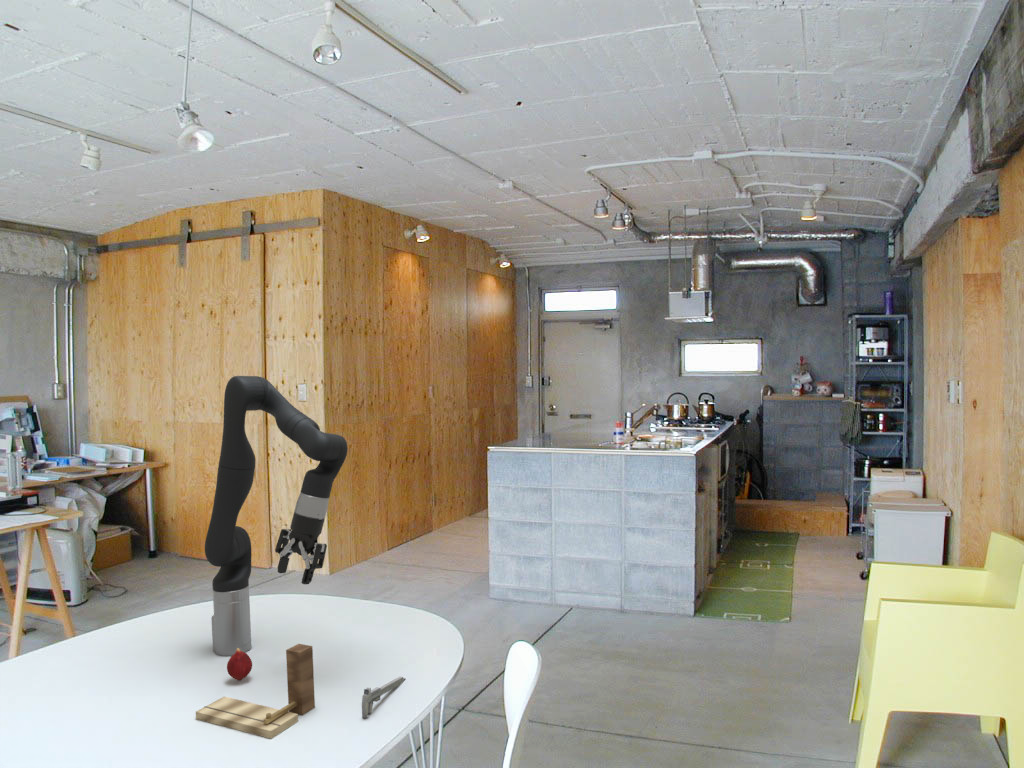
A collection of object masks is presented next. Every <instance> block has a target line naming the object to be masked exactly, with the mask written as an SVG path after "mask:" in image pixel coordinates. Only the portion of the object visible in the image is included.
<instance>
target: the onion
mask: <svg viewBox="0 0 1024 768" xmlns="http://www.w3.org/2000/svg"><path fill="white" fill-rule="evenodd" d="M252 669H253V661H252V659H251V657H250V655H249V654H248V653H246V652H242V651H241V650H240V649H239V648H237V650H236V653H235V654H233V655H231V656H230V658H229V659H228V661H227V663H226V671H227V674H228V675H229V676H230V677H231V678H232V679H234V680H236V681H238V682H241V681H243V680H244V679H245V678H247V676H249V674H250V673H251V671H252Z"/></svg>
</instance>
